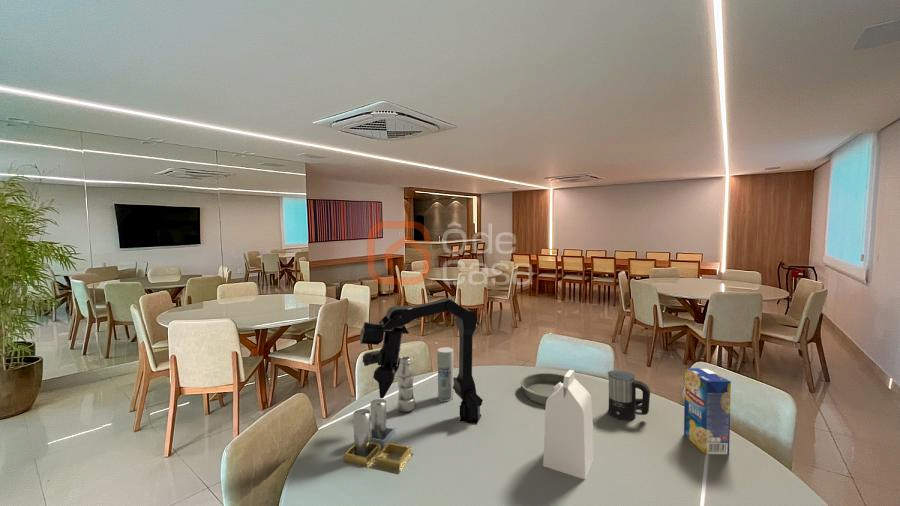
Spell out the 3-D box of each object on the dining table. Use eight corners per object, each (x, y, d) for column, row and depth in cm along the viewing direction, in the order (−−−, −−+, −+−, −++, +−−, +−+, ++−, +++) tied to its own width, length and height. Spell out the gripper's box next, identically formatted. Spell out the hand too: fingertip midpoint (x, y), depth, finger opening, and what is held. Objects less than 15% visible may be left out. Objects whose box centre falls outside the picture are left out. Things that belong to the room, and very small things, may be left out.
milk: (585, 479, 99) (585, 384, 97) (543, 466, 105) (543, 376, 103) (594, 456, 109) (594, 370, 108) (555, 445, 115) (555, 363, 114)
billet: (389, 439, 120) (388, 400, 119) (382, 447, 115) (381, 406, 114) (376, 436, 121) (375, 398, 121) (368, 444, 117) (367, 404, 116)
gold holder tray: (413, 456, 110) (413, 447, 110) (398, 477, 100) (398, 467, 100) (361, 446, 116) (361, 437, 116) (342, 465, 106) (342, 455, 106)
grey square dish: (395, 437, 120) (395, 428, 120) (383, 450, 113) (383, 440, 113) (374, 433, 123) (374, 424, 123) (362, 446, 116) (362, 436, 116)
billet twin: (374, 452, 111) (373, 410, 110) (365, 461, 106) (364, 417, 105) (360, 449, 112) (359, 408, 112) (351, 458, 108) (350, 415, 107)
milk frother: (607, 417, 132) (607, 377, 131) (606, 399, 146) (606, 362, 145) (652, 425, 126) (653, 382, 125) (647, 405, 141) (647, 367, 140)
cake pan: (534, 378, 169) (534, 368, 169) (589, 391, 155) (590, 380, 154) (510, 397, 149) (510, 387, 149) (571, 414, 135) (571, 402, 134)
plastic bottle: (412, 415, 135) (411, 361, 134) (394, 413, 137) (393, 360, 136) (417, 407, 142) (416, 355, 141) (400, 405, 143) (399, 355, 142)
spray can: (435, 400, 147) (434, 351, 146) (441, 393, 153) (441, 346, 152) (450, 403, 145) (449, 353, 144) (456, 396, 151) (455, 348, 150)
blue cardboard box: (705, 434, 120) (706, 368, 119) (729, 454, 109) (731, 381, 108) (683, 434, 120) (684, 368, 119) (705, 454, 109) (707, 381, 108)
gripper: (372, 335, 130) (365, 379, 129) (360, 348, 111) (352, 400, 111) (403, 340, 130) (396, 384, 130) (397, 354, 111) (389, 405, 111)
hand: (383, 392), depth 120 cm, fingers open, 9 cm apart
